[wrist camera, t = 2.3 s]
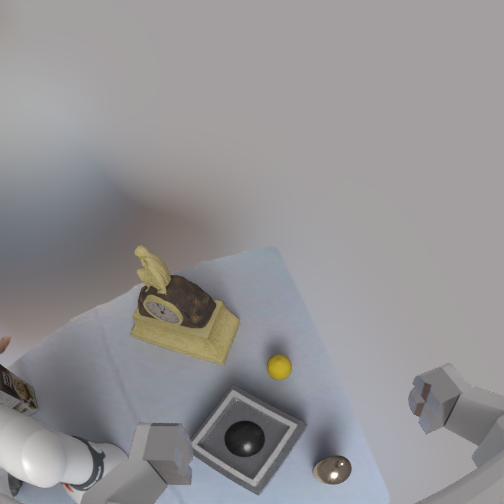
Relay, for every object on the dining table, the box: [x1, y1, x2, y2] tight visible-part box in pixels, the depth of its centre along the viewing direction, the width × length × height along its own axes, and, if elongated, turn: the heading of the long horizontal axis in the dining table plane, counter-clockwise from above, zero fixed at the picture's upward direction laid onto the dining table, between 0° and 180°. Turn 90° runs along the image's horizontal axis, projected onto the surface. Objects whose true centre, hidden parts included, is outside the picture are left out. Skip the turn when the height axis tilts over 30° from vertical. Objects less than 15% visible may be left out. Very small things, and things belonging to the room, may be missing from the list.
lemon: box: [267, 355, 292, 380], centre depth 61 cm, size 6×6×8 cm
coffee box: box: [0, 364, 38, 416], centre depth 53 cm, size 9×6×16 cm
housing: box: [190, 384, 307, 495], centre depth 50 cm, size 18×18×8 cm
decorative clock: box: [130, 245, 240, 365], centre depth 65 cm, size 28×13×30 cm, turn 73°
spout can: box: [313, 455, 352, 484], centre depth 40 cm, size 6×6×16 cm
